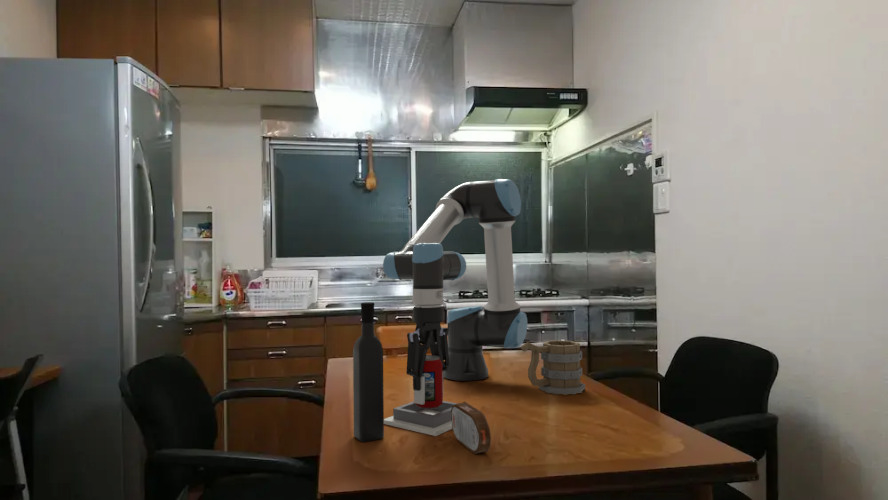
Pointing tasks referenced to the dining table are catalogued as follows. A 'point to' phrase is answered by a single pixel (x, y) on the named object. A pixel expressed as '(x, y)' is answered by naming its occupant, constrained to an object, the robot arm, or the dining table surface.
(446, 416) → the tray
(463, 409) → the tin
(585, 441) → the dining table surface
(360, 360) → the wine bottle
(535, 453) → the dining table surface
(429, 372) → the beverage can
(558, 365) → the tankard
